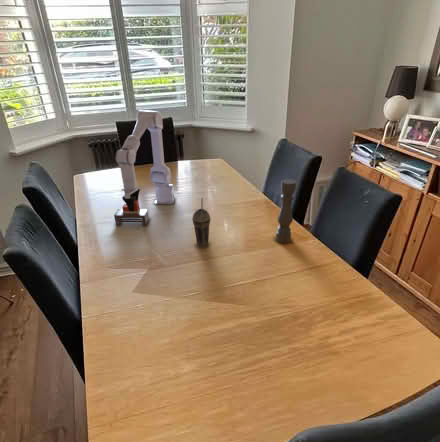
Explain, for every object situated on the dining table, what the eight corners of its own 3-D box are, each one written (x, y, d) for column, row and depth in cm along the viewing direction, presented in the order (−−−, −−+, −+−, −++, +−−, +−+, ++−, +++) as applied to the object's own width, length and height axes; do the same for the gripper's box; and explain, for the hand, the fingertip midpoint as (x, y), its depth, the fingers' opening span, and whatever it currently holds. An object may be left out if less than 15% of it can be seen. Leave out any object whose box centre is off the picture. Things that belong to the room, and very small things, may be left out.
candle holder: (290, 243, 150) (296, 184, 135) (275, 242, 151) (280, 183, 136) (290, 236, 155) (297, 179, 140) (276, 235, 156) (281, 178, 141)
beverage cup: (190, 246, 148) (187, 200, 137) (199, 239, 154) (197, 194, 142) (205, 250, 146) (204, 203, 134) (214, 243, 151) (213, 197, 139)
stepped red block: (140, 210, 167) (138, 199, 164) (138, 213, 164) (136, 203, 161) (124, 210, 168) (123, 199, 165) (122, 213, 164) (120, 203, 161)
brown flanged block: (148, 219, 171) (147, 209, 168) (146, 225, 165) (144, 215, 162) (119, 219, 172) (117, 209, 169) (115, 225, 166) (113, 215, 163)
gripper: (123, 173, 163) (128, 201, 171) (115, 184, 151) (121, 214, 159) (139, 173, 163) (143, 201, 171) (132, 184, 151) (136, 214, 159)
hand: (133, 207), depth 165 cm, fingers open, 7 cm apart
